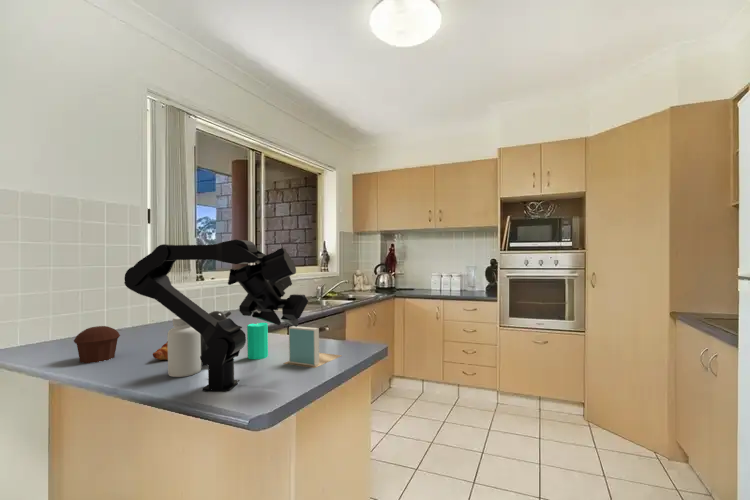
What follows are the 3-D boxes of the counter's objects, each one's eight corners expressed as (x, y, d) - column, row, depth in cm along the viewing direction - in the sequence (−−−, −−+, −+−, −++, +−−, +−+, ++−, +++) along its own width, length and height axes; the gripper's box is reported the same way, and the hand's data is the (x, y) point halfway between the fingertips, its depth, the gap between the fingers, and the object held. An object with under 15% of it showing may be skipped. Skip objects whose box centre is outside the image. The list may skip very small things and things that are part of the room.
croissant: (203, 356, 133) (195, 335, 134) (223, 344, 130) (214, 323, 131) (147, 372, 113) (139, 348, 114) (169, 359, 110) (160, 334, 111)
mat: (314, 370, 102) (314, 367, 102) (283, 365, 107) (283, 363, 107) (342, 357, 114) (342, 355, 114) (312, 353, 119) (312, 351, 119)
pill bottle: (170, 370, 104) (169, 316, 104) (202, 367, 106) (201, 314, 107) (165, 379, 96) (164, 320, 96) (199, 375, 99) (199, 318, 99)
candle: (271, 356, 117) (270, 317, 118) (263, 361, 111) (263, 320, 112) (252, 356, 118) (252, 317, 118) (244, 361, 112) (243, 320, 112)
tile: (314, 366, 104) (314, 329, 104) (289, 362, 108) (288, 327, 108) (319, 364, 105) (318, 328, 106) (293, 360, 110) (293, 326, 110)
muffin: (73, 366, 110) (73, 332, 110) (73, 359, 118) (73, 327, 118) (122, 359, 117) (122, 327, 117) (118, 352, 126) (118, 322, 126)
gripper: (303, 262, 92) (329, 302, 102) (247, 262, 101) (276, 299, 110) (281, 297, 85) (312, 337, 95) (223, 295, 94) (256, 331, 103)
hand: (288, 324), depth 101 cm, fingers open, 6 cm apart
